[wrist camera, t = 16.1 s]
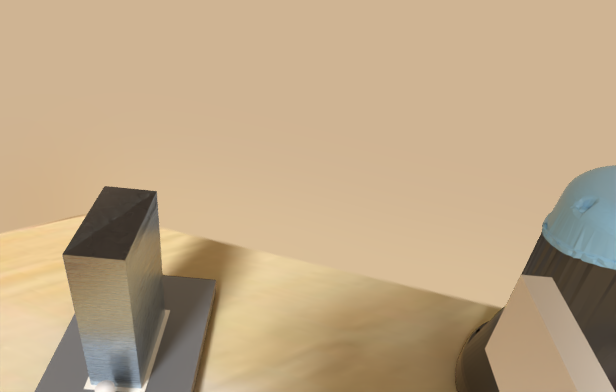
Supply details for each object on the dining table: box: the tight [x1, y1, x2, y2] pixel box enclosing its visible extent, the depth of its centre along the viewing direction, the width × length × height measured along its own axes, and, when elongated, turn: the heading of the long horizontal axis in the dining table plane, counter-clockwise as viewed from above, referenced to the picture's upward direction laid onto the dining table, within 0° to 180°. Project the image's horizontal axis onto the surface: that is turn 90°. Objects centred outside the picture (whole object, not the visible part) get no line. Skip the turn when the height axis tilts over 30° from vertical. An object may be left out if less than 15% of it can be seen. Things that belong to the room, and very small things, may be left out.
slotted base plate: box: [35, 275, 216, 392], centre depth 44 cm, size 12×18×4 cm, turn 179°
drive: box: [63, 186, 165, 389], centre depth 40 cm, size 4×8×14 cm, turn 179°
